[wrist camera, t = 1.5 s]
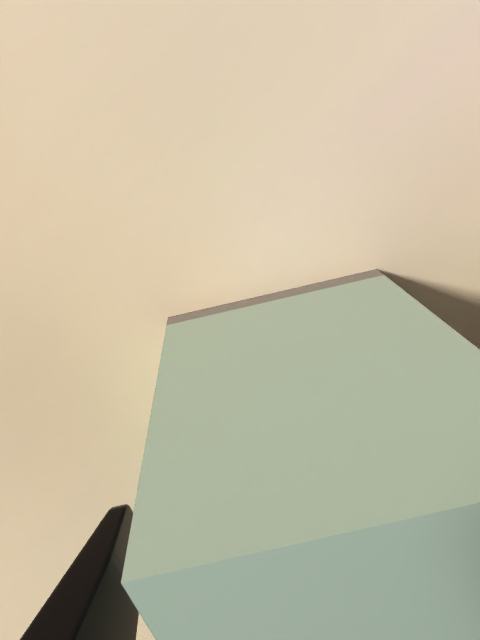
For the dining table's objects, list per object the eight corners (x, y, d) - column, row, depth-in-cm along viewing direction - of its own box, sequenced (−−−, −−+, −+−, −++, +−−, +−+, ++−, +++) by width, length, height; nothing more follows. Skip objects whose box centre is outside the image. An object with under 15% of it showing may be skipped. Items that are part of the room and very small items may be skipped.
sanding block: (386, 494, 13) (524, 763, 7) (238, 527, 13) (266, 819, 7) (375, 267, 9) (633, 468, 4) (168, 315, 9) (121, 581, 4)
